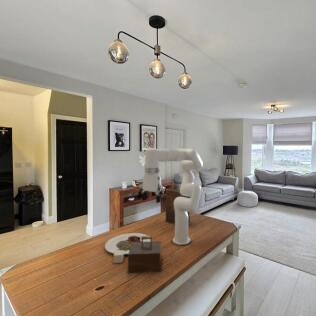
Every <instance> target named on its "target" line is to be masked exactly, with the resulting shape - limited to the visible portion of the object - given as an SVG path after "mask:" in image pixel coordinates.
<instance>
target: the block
mask: <svg viewBox="0 0 316 316" xmlns="http://www.w3.org/2000/svg"><path fill="white" fill-rule="evenodd" d="M124 255H125V254H124V251H116V252H115V254H113V264H122V263H123V261H124V257H125V256H124Z"/></svg>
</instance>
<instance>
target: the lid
mask: <svg viewBox="0 0 316 316" xmlns="http://www.w3.org/2000/svg"><path fill="white" fill-rule="evenodd" d="M141 239H142V242H133V244H132V246H131V249H130V251H129V254H127V257H128V256H134V255H157V254H160V249H161V250H162V241H161V240H155V241H153V235H147V236H142V237H141ZM143 239H150V242H143Z"/></svg>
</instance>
